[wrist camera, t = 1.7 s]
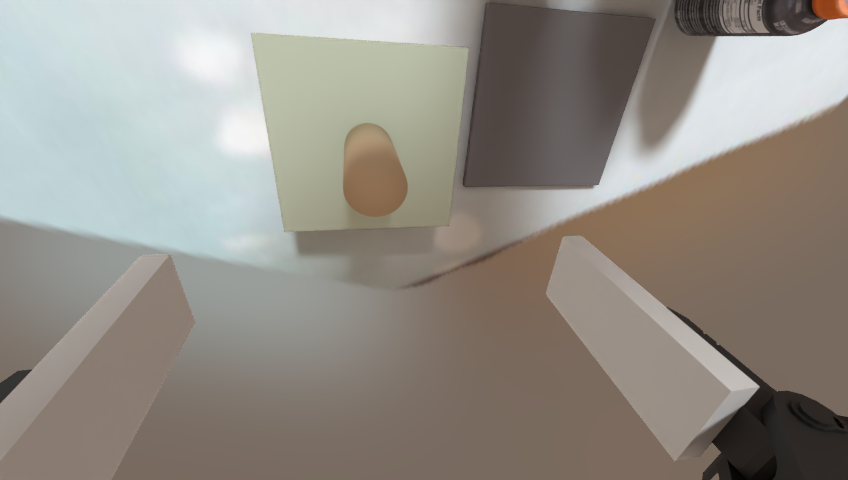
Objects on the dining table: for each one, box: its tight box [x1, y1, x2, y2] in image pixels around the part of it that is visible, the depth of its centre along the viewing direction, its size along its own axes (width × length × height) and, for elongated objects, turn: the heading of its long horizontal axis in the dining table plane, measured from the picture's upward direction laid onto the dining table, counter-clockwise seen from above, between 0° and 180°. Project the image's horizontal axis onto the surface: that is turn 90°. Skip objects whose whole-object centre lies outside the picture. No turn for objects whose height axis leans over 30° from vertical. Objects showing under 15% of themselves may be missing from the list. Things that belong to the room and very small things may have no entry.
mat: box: [463, 3, 655, 187], centre depth 31 cm, size 15×15×1 cm
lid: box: [251, 33, 469, 232], centre depth 23 cm, size 14×14×9 cm
